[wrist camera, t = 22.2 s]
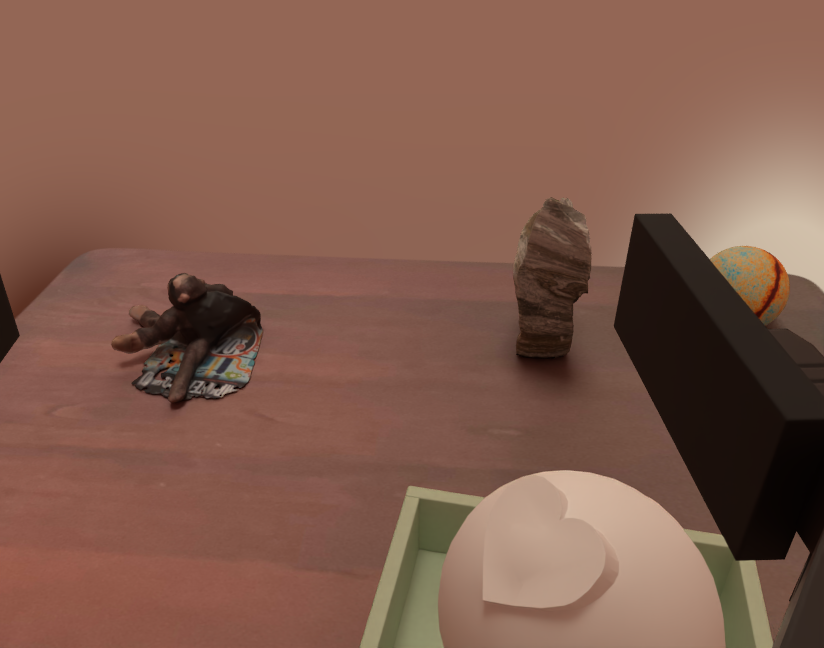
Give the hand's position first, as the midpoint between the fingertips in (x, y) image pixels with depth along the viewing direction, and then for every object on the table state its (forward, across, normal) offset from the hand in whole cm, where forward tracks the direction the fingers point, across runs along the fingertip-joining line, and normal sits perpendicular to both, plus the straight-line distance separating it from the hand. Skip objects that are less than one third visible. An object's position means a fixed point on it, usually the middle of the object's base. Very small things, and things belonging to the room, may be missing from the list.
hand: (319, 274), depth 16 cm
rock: (+36, +15, -26) cm, 47 cm away
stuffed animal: (+37, -13, -27) cm, 47 cm away
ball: (+38, +32, -26) cm, 56 cm away
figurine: (+5, +9, -26) cm, 28 cm away
